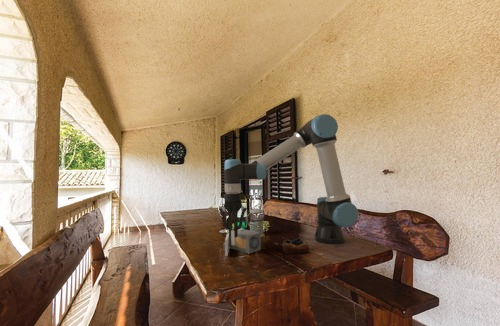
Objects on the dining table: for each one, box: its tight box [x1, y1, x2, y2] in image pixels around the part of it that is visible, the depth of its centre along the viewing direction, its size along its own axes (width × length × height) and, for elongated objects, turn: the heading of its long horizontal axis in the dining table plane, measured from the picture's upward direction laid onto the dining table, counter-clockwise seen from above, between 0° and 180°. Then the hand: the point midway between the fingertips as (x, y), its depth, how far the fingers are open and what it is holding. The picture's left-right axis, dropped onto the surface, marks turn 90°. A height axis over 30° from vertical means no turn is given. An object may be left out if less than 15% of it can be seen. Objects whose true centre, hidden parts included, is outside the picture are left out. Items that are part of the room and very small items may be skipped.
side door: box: [223, 232, 231, 257], centre depth 112 cm, size 13×2×7 cm, turn 0°
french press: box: [245, 192, 266, 238], centre depth 144 cm, size 10×12×25 cm
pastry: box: [281, 237, 310, 255], centre depth 113 cm, size 11×12×6 cm
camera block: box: [230, 228, 262, 255], centre depth 117 cm, size 16×8×9 cm, turn 45°
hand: (233, 244), depth 111 cm, fingers closed
